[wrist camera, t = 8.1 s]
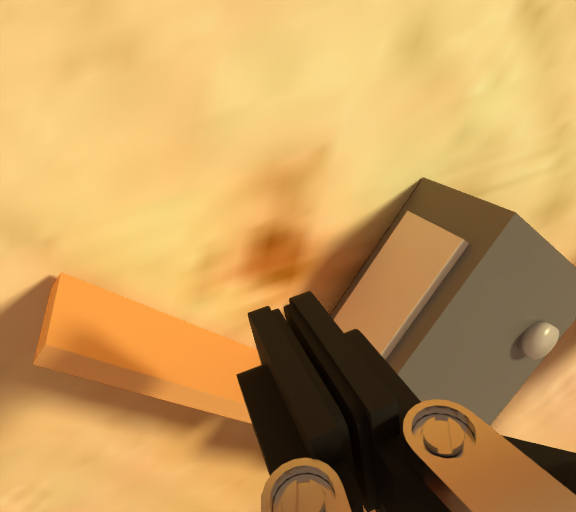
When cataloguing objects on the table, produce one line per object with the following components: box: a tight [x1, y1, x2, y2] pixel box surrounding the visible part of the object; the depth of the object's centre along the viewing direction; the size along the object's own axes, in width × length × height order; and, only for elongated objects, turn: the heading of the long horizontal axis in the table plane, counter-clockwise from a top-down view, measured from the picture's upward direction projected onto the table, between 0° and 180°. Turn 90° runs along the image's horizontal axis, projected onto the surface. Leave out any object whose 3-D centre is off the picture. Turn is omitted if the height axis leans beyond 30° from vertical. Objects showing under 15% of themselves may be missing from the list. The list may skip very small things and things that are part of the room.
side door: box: [33, 273, 261, 424], centre depth 18 cm, size 13×1×5 cm, turn 51°
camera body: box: [330, 177, 576, 426], centre depth 23 cm, size 15×10×7 cm, turn 145°
